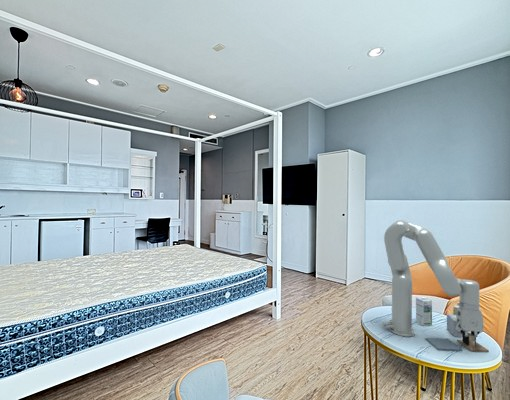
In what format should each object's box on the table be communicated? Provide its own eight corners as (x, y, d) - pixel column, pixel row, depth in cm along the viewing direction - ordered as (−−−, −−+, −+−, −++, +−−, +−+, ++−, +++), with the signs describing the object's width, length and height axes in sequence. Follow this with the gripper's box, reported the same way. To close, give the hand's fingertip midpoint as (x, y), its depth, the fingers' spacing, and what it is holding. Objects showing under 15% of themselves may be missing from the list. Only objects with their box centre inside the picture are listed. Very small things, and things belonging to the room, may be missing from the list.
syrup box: (423, 326, 148) (423, 300, 149) (415, 321, 154) (415, 296, 154) (432, 325, 149) (432, 300, 149) (424, 321, 155) (424, 296, 155)
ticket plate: (438, 350, 123) (438, 348, 123) (425, 339, 133) (425, 337, 133) (462, 351, 123) (462, 349, 123) (447, 340, 133) (447, 338, 133)
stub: (470, 351, 123) (470, 338, 123) (457, 341, 132) (457, 329, 132) (488, 351, 122) (488, 339, 123) (473, 341, 131) (473, 330, 132)
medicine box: (464, 337, 136) (464, 321, 136) (454, 336, 137) (454, 320, 137) (455, 330, 143) (455, 314, 144) (446, 329, 144) (446, 314, 145)
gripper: (457, 308, 124) (457, 347, 124) (493, 309, 123) (492, 348, 123) (446, 302, 132) (446, 339, 131) (480, 303, 131) (480, 340, 131)
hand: (469, 343), depth 127 cm, fingers closed on stub, 2 cm apart
